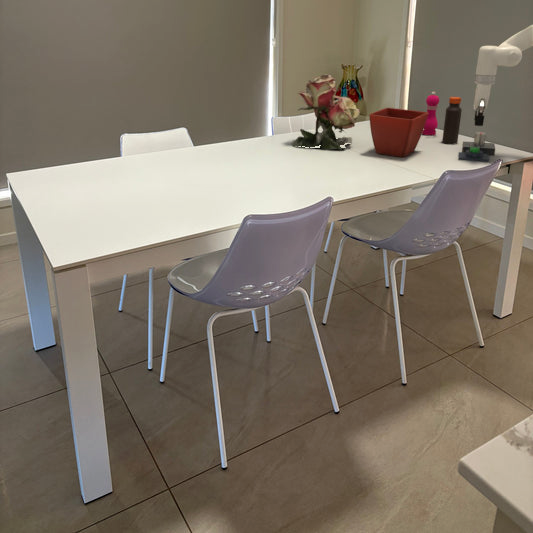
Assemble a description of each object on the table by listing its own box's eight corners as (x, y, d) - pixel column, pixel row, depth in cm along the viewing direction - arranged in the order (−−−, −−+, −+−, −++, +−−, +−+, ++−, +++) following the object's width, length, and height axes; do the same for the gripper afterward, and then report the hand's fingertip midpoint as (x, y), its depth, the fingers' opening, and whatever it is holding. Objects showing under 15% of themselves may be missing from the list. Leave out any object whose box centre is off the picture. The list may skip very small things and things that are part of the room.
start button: (478, 151, 244) (479, 147, 244) (478, 153, 241) (479, 149, 240) (469, 150, 245) (470, 146, 245) (469, 153, 242) (470, 148, 241)
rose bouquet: (355, 151, 255) (359, 80, 242) (289, 147, 262) (290, 77, 249) (362, 138, 278) (366, 72, 265) (301, 135, 285) (302, 70, 272)
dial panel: (493, 150, 257) (494, 142, 255) (494, 155, 248) (495, 148, 247) (462, 148, 260) (463, 140, 259) (462, 153, 252) (463, 146, 250)
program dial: (473, 143, 255) (475, 131, 253) (484, 143, 254) (486, 131, 252) (473, 145, 252) (475, 133, 249) (484, 146, 250) (486, 133, 248)
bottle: (460, 142, 270) (466, 97, 261) (452, 145, 265) (458, 99, 257) (446, 140, 274) (452, 96, 265) (439, 142, 269) (444, 97, 261)
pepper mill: (430, 136, 280) (435, 93, 272) (418, 133, 286) (422, 91, 277) (439, 134, 285) (444, 91, 276) (427, 131, 290) (432, 89, 281)
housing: (488, 156, 247) (489, 149, 245) (489, 162, 239) (490, 155, 238) (458, 154, 250) (459, 147, 249) (458, 160, 242) (459, 153, 241)
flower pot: (424, 151, 256) (429, 111, 249) (408, 160, 242) (412, 119, 235) (384, 145, 266) (387, 107, 258) (365, 154, 252) (368, 114, 244)
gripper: (474, 76, 240) (468, 118, 247) (475, 82, 225) (468, 127, 232) (494, 76, 238) (487, 119, 245) (496, 82, 223) (488, 128, 230)
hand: (478, 123), depth 239 cm, fingers open, 9 cm apart
